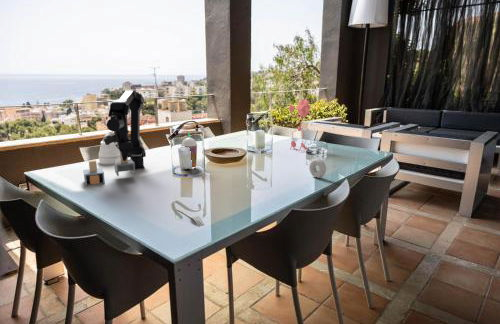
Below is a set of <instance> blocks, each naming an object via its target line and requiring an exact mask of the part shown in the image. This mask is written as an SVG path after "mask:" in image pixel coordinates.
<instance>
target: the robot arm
mask: <svg viewBox="0 0 500 324" xmlns="http://www.w3.org/2000/svg"><path fill="white" fill-rule="evenodd" d="M144 103H145V98H144V96H143V95H142V94H141V93H139V92H137V90H136V89H125V90H124V93H123V94H122V95H121V97H120V98H118V99H115V100H112V101H111V103H110V106H109V111H108V117H110V119H108V120H107V122H106V128H107V129H108V131H113V133H112V134H110V135H108V136H106V137H102V140H104V142H105V144H106V145H109V144H110V143H112V142H114V143H116V142H117V144H116V145H115V146H116V147H117V148H118V149H119V150H120V152H121V154H122V158H123V161H126V159H127V156H128V158H130V159H132V161H133V162H134V163H135V170H137V169H145V165H144V158H145V157H146V154H147V153H146V150H145V147H144V146H143V144H144V143H143V142H142V141H141V138H140V137H141V136H140V133H141V132H140V131H141V130H140V125H141V124H140V122H141V121H140V120H141V118H140V117H141V111H142V110H143V107H144ZM129 113H130V130H129V127H128V125H129V124H128V116H129ZM129 132H130V138H129ZM130 159H129V160H130Z"/></svg>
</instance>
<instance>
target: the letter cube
mask: <svg viewBox="0 0 500 324" xmlns="http://www.w3.org/2000/svg"><path fill="white" fill-rule="evenodd" d="M89 180H90V181H89V183H90V184H89V185H96V184H100V180H99V174H96V175H89Z"/></svg>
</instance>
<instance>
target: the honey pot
mask: <svg viewBox="0 0 500 324" xmlns="http://www.w3.org/2000/svg"><path fill="white" fill-rule="evenodd" d="M113 133H114V131H110V130H108V131H107V133H105V135H104V137H106V136H108V135H110V134H113ZM116 144H117V142H116V143H114V142H112V143H110V144H109V145H106V144H105V142H104V140H103V139H102V140H101V141H100V147H99V151H98V162H99V164H101V165H113V164H114V161H120V150H119V149H118V148H117V147H116V146H115V145H116Z"/></svg>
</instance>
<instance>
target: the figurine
mask: <svg viewBox="0 0 500 324" xmlns="http://www.w3.org/2000/svg"><path fill="white" fill-rule="evenodd" d="M295 109H296V110H297V113H298V114H297V115H296V118H298V119H300V120H301V122H300V125H299V126H298V127H297V129H296V130H293V131H292V132H291V134H292V138H294V135H293V133H294V132H296V131H298V132H300V131H301V133H302V138H304V136H305V135H304V132H303V130H302V123H303V120H304V119H303V118H306V117H307V116H308V114H309V115H310V116H312V118H313V119H316V118H315V117H314V115H313V114H312V113H311V112H310V110H311V105H310V101H309V100H307V98H304V99H303V98H300V100H299V102H298V105H297V106H296V108H295V106H294V105H293V104H291V105H289V106H288V110H289V112H290V115H291V117H293V113H294V111H295ZM296 147H297V142H296V141H295V140H291V143H290V147H289V150H290V149H292V148H293V149H295V148H296ZM301 148H303V149H304V150H305V151H306V149H307V150H308V147H307V146H306V145H305V144H304V141H301V143H300V146H299V150H298V152H299V151H301Z"/></svg>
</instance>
